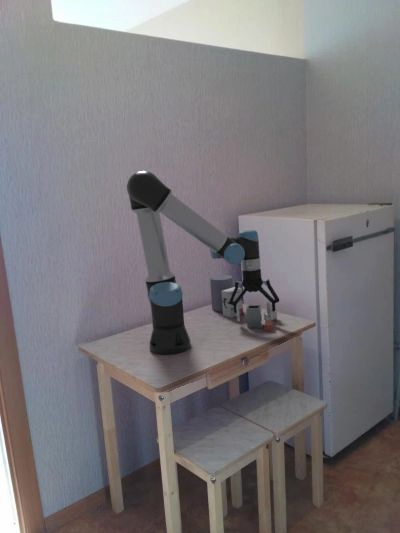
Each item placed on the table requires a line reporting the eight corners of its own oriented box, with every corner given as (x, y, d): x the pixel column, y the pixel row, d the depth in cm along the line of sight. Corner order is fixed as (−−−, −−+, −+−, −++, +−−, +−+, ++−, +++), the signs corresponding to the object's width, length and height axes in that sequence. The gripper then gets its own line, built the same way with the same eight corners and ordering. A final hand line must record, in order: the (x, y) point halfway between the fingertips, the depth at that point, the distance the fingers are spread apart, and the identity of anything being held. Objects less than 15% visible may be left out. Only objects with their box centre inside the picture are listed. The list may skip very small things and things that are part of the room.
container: (207, 310, 221) (205, 278, 218) (220, 304, 229) (219, 274, 226) (225, 313, 215) (223, 280, 212) (238, 307, 222) (236, 276, 220)
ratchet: (261, 331, 186) (260, 312, 184) (264, 318, 203) (263, 299, 201) (275, 331, 185) (274, 311, 183) (277, 317, 202) (276, 299, 200)
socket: (247, 328, 191) (246, 308, 190) (248, 323, 197) (247, 305, 195) (260, 328, 190) (260, 308, 189) (261, 323, 195) (261, 305, 194)
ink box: (235, 311, 216) (234, 286, 213) (243, 313, 212) (242, 287, 210) (222, 316, 210) (220, 290, 208) (230, 318, 206) (228, 291, 204)
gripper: (219, 272, 188) (223, 323, 192) (282, 268, 183) (286, 321, 187) (221, 268, 195) (226, 318, 199) (283, 265, 190) (286, 315, 194)
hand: (255, 319), depth 193 cm, fingers open, 13 cm apart
